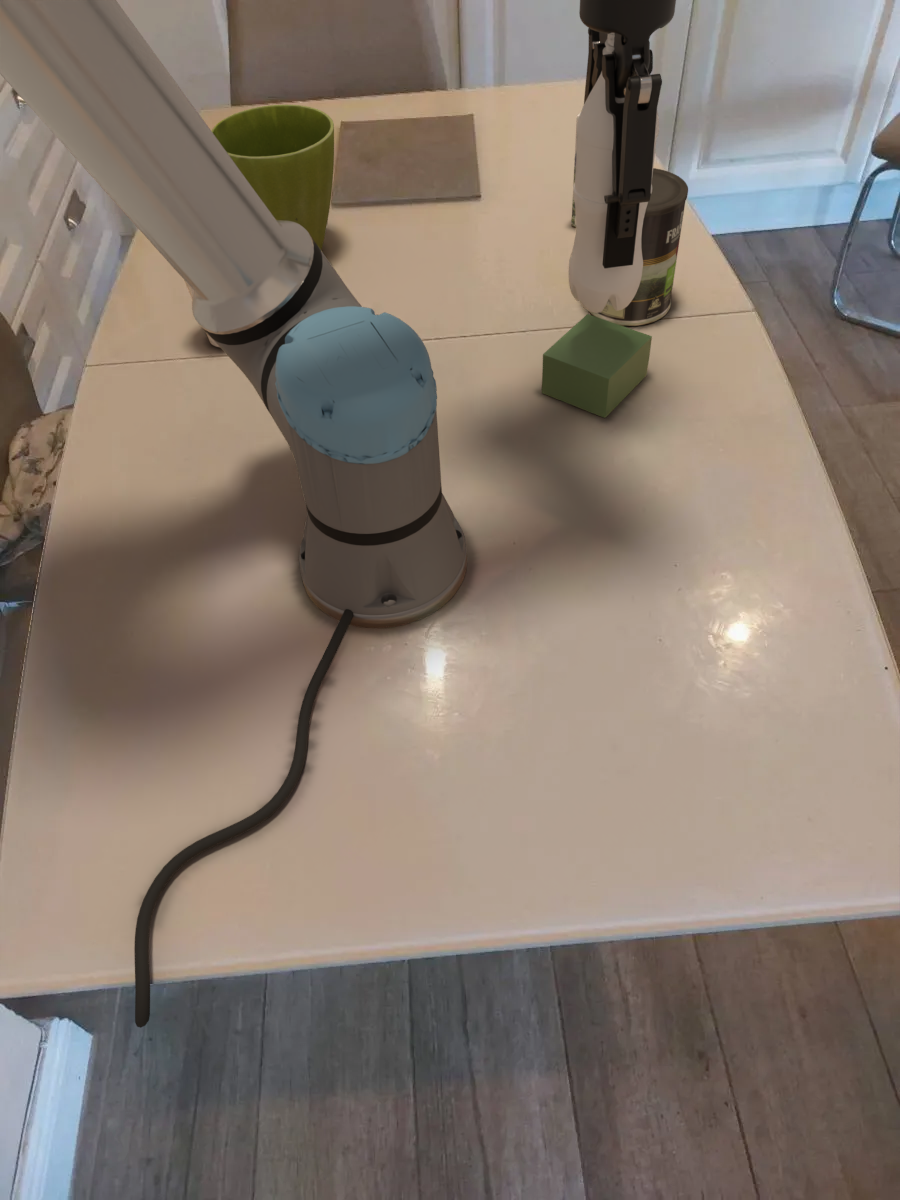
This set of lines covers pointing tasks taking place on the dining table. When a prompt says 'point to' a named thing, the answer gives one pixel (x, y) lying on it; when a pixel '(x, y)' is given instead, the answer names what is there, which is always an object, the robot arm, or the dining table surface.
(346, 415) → the robot arm
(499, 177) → the dining table surface
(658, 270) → the coffee can
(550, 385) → the green block
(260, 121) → the flower pot
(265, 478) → the dining table surface
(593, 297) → the water bottle
